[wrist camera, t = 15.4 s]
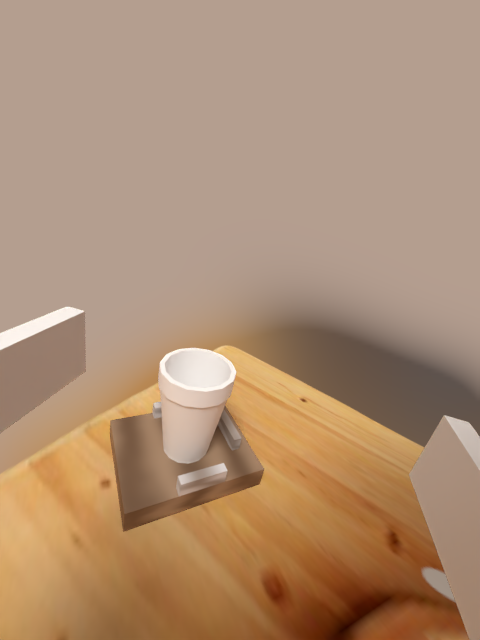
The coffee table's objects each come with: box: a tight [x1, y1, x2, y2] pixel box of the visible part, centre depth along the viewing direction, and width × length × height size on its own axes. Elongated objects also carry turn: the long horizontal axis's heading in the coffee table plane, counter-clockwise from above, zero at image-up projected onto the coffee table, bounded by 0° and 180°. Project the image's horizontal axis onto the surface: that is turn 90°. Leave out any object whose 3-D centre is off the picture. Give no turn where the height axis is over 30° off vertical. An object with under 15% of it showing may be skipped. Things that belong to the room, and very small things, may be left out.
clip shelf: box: [110, 402, 264, 531], centre depth 42 cm, size 18×14×5 cm
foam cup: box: [158, 348, 236, 464], centre depth 39 cm, size 10×9×13 cm
